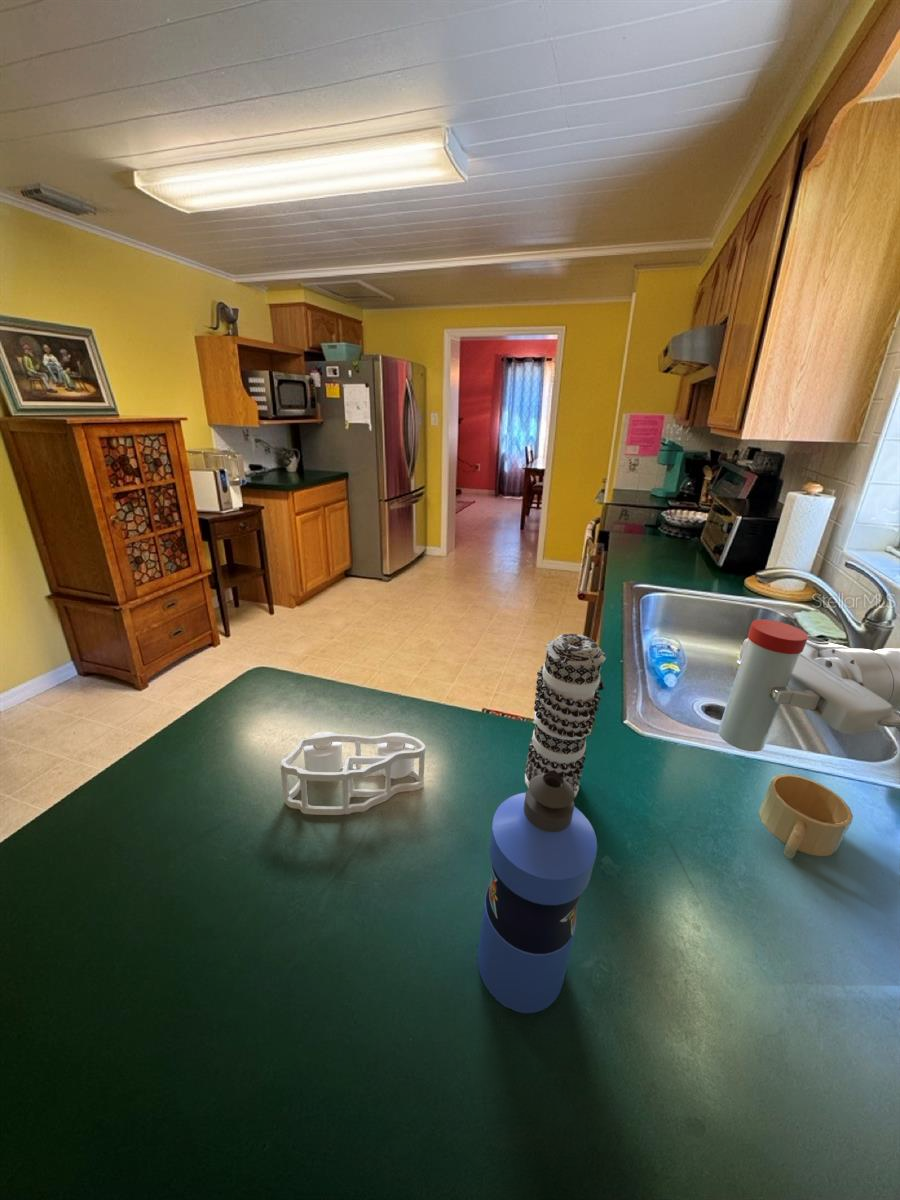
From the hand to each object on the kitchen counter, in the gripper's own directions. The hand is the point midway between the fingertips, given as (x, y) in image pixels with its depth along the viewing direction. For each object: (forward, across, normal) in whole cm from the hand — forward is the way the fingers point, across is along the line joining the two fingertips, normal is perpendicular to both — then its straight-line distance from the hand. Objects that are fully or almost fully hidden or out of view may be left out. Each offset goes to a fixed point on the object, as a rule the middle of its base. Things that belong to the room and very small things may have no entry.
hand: (755, 680), depth 66 cm
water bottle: (+37, -22, -21) cm, 48 cm away
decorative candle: (+26, +3, -21) cm, 33 cm away
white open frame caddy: (+56, +4, -21) cm, 60 cm away
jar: (-1, 0, -10) cm, 10 cm away
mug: (-6, -9, -21) cm, 23 cm away
